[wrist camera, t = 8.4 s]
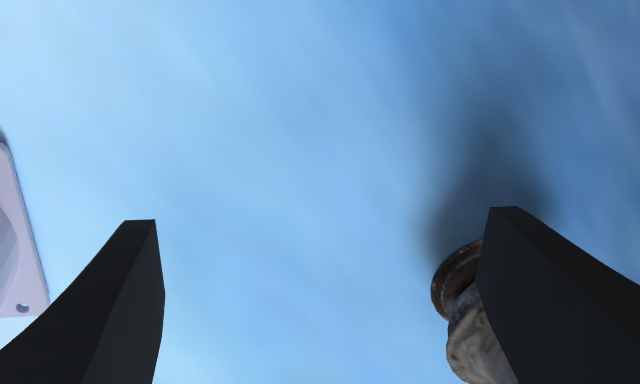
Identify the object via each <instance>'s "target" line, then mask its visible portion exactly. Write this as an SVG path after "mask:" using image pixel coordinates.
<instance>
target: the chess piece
mask: <svg viewBox="0 0 640 384" xmlns="http://www.w3.org/2000/svg"><path fill="white" fill-rule="evenodd" d="M482 242H483V239H482V240H478V241H476V242H473V243H471V244H468V245H466V246H464V247H462V248H461V249H459V250H458V251H456V252H455V253H453V254H452V255H451V256H450V257H449V258H448V259H447V260H446V261H445V262H444V263H443V264H442V265H441V266H440V268H439V269H438V271H437V273H436V274H435V276H434V279H433V282H432V286H431V299H432V302H433V304H434V306H435V309H436V311H437V312H438V313H439V314H440V315H441V316H442V317H443V318H444V319H445V320H447V321H449V324H448V341H447V344H446V354H447V361H448V363H449V365H450V367H451V369H452V371H453V372H454V373H455V374H456V375H457V376H458V377H459V378H460V379H461V380H463V381H465V382H467V383H469V384H519V382H518V380H517V378H516V376H515V374H514V372H513V370H512V368H511V366H510V364H509V362H508V360H507V358H506V356H505V354H504V352H503V350H502V348H501V346H500V344H499V342H498V340H497V338H496V336H495V334H494V332H493V330H492V328H491V325H490V323H489V321H488V319H487V316H486V313H485V311H484V308H483V305H482V302H481V299H480V295H479V292H478V289H477V286H476V282H475V275H476V270H477V265H478V261H479V256H480V252H481V247H482Z"/></svg>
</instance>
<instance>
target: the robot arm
mask: <svg viewBox="0 0 640 384" xmlns="http://www.w3.org/2000/svg"><path fill="white" fill-rule="evenodd" d="M475 282H476V286H477V289H478V292H479V295H480V299H481V302H482V305H483V308H484V311H485V313H486V316H487V319H488V321H489V323H490V325H491V328H492V330H493V332H494V334H495V336H496V338H497V340H498V342H499V344H500V346H501V348H502V350H503V352H504V354H505V356H506V358H507V360H508V362H509V364H510V366H511V368H512V370H513V372H514V374H515V376H516V378H517V380H518V382H519V384H640V285H638V284H636V283H635V282H633V281H631V280H630V279H628V278H626V277H625V276H623V275H621V274H620V273H618V272H616V271H615V270H613V269H611V268H610V267H608V266H607V265H605V264H603V263H602V262H600V261H599V260H597V259H596V258H594V257H593V256H591V255H590V254H588V253H586V252H585V251H584V250H582V249H581V248H579V247H578V246H576V245H575V244H573V243H572V242H570V241H569V240H567V239H566V238H564V237H563V236H561V235H560V234H559V233H557V232H556V231H554V230H553V229H551V228H550V227H548V226H547V225H545V224H544V223H542V222H541V221H540V220H538V219H537V218H535V217H534V216H532V215H531V214H529V213H527V212H526V211H524V210H522V209H521V208H519V207H517V206H508V207H490V210H489V214H488V219H487V224H486V228H485V233H484V238H483V242H482V247H481V252H480V256H479V261H478V265H477V270H476V275H475ZM20 303H23V304H26V305H28V306H22V305H21V304H20ZM164 305H165V289H164V281H163V274H162V267H161V259H160V252H159V245H158V237H157V230H156V223H155V219H152V220H125V221H124V222H123V223H122V224H121V225H120V226H119V227H118V228H117V230H116V231H115V232H114V233H113V235H112V236H111V237H110V238H109V240H108V241H107V242H106V243H105V245H104V246H103V247H102V248H101V250H100V251H99V252H98V253H97V254H96V256H95V257H94V258H93V259H92V260H91V262H90V263H89V264H88V265H87V266H86V267H85V268H84V270H83V271H82V272H81V273H80V274H79V275H78V276H77V278H76V279H75V280H74V281H73V282H72V283H71V284H70V285H69V286H68V288H67V289H66V290H65V291H64V292H63V293H62V294H61V295H60V296H59V297H58V298H57V299H56V300H55V301H54V302H53V303H52V304H51V305H50V298H49V295H48V291H47V287H46V283H45V280H44V276H43V272H42V269H41V265H40V261H39V258H38V254H37V250H36V247H35V243H34V239H33V236H32V232H31V228H30V224H29V221H28V217H27V213H26V210H25V206H24V202H23V199H22V195H21V191H20V188H19V184H18V180H17V176H16V173H15V169H14V165H13V162H12V158H11V154H10V151H9V149H8V147H7V146H5V145H4V144H3V143H1V142H0V318H4V317H23V316H39V315H40V316H39V317H38V318H37V319H36V320H35V321H33V322H32V323H31V324H30V325H29V326H28V327H27V328H26V329H25V330H24V331H22V332H21V333H20V334H19V335H18V336H16V337H15V338H14V339H13V340H12V341H11V342H9V343H8V344H7V345H6V346H4V347H3V348H2V349H1V350H0V384H152V381H153V376H154V371H155V367H156V362H157V357H158V353H159V348H160V343H161V338H162V329H163V318H164Z"/></svg>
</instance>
